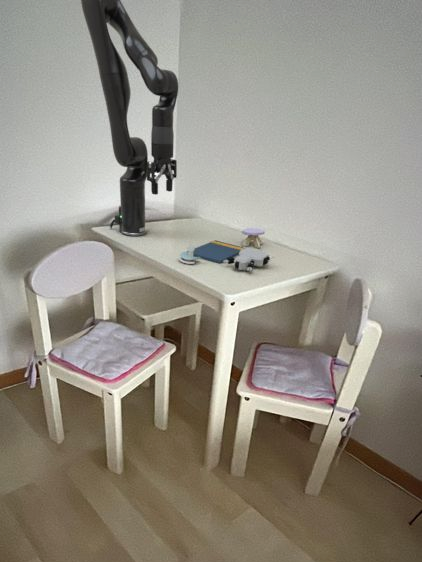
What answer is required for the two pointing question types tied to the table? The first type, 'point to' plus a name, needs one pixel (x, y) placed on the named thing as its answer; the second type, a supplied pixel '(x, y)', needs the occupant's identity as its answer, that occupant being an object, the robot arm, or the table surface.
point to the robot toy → (249, 259)
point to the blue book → (217, 251)
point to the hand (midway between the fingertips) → (162, 192)
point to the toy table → (253, 236)
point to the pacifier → (189, 255)
